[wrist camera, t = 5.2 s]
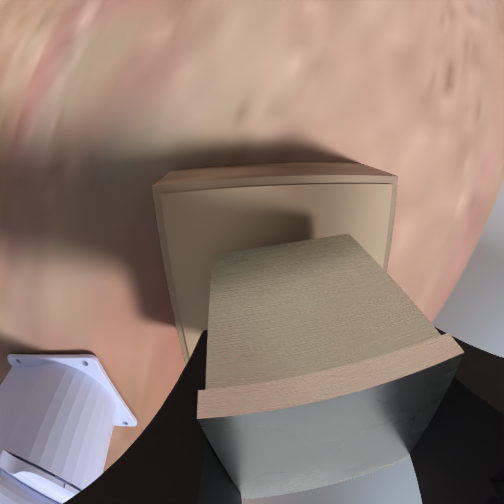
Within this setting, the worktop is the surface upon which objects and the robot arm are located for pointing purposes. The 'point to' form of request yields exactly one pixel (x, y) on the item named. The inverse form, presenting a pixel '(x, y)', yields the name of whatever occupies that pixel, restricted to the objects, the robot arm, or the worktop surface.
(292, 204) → the tan flat square box
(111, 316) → the worktop surface
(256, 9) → the worktop surface
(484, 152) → the worktop surface
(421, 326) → the tea tin
